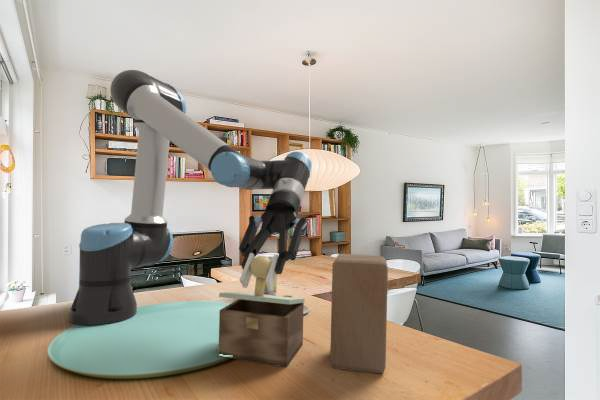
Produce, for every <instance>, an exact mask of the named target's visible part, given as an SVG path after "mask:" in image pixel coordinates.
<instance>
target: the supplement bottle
mask: <svg viewBox="0 0 600 400" xmlns="http://www.w3.org/2000/svg"><path fill="white" fill-rule="evenodd" d="M274 255H275V254H261V255H259V256H266V257H268V258H270V259H271V261H272V260H273V257H274ZM277 277H278V276H277ZM277 277H276V280H275V283H274V286H273V290H268V287H267V285H266V283H265V286H264V295H274V296H277V286H278V285H277V284H278V283H277V282H278V281H277V279H278V278H277ZM255 278H256V277H255ZM256 279H258V278H256ZM256 279H255V280H256ZM265 281H266V278H265Z"/></svg>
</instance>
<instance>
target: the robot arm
mask: <svg viewBox="0 0 600 400" xmlns="http://www.w3.org/2000/svg"><path fill="white" fill-rule="evenodd" d="M110 84H111V85H110V90H109V91H110V96H111V99H112V102H113V103H114V104H115V106H116V107H118V108H119V109H120V110H121V111H123V112H124V113H125V114H127V115H128V116H129V117H131V118H133V126H134V127H135V128H136V130H137V131H138V134H137V135H138V136H137V147H136V157H135V168H134V169H135V170H134V178H133V189H132V201H131V210H130V211H131V212H130V214H129V215H128V216H126V217H125V218H124V221H123V222H110V223H102V224H100V223H99V224H95V225H91V226H88V227H86V228H84V229H83V230H82V231H81V234H80V242H79V245H78V247H79V271H78V273H79V275H78V279H79V280H78V289H77V292H76V294H75V297H74V300H73V302H72V305H71V308H70V310H69V321H70V322H71V323H73V324H77V325H84V326H85V325H89V326H90V325H91V326H93V325H95V326H96V325H103V324H104V325H105V324H111V323H117V322H121V321H124V320H127V319H129V318H132V317H134V316H135V315H136V314H137V312H138V310H137V309H138V305H137V304H138V303H137V300H136V297H135V295H134V291H133V288H132V285H131V270H134V269H138V268H143V267H145V266H146V267H149V266H155V264H158V263H160V262H162V261H165V259H167V257H169V256H170V254H171V252H172V250H173V247H174V237H173V234H172V233H171V230H170V229H169V228H168V220H167V219H166V217H164V215H163V213H164V204H165V194H166V193H165V192H166V182H167V175H168V174H167V173H168V165H169V164H168V162H169V154H170V153H169V152H170V151H169V149H170V143H173V144H174V145H175V146H176V147H177V148H178V149H180V150H182V151H183V152H184V153H185V154H187V155H188V156H189V157H191V158H192V159H193V160H195V161H196V162H197V163H198V164H200V165H201V166H203V167H204V168H205V169H207V170H208V171H209V172H210V173H211V176H212V177H213V180H215V182H217V183H218V184H220V185H222V186H225V187H226V188H227V187H228V188H239V189H240V190H250V191H253V190H272V191H271V194H270V197H269V199H268V201H267V203H266V206H265V210H264V211H263V213H261V215H260V216H257V217H255V216H254V215H250V216H249V217H248V225H247V227H246V229H245V232H244V235H243V237H242V240H241V242H240V244H239V246H238V247H239V248H238V250H239V252H240V254H241V256H242V257H243V261H242V263H241V269H242V273H241V275H240V277H239V282H240V283H241V286H242V287H243V288H245V289H247V288H248V286H249V283H250V280H251V278H252V276H253V274H252V273H251V269H250V266H251V263H252V261H253V260H254V259H255V258H256V257H257V255H258V253H259V252H260V250H261V249H262V248H263V247H264V244H265V243H266V242H267V240H268V239H269V238H270V237H271V236H272V235H273V234H276V233H277V234H278V251H277V253H278V254H273V255H274V257H273V260H272V263H271V266H270V269H269V272H268V275H267V278H266V281H265V283H266V285H267V287H268V290H273V286H274V283H275V280H276V277H278V275H282V273H283V270H284V268H285V265H286V262H287V261H295V260H296V258H297V255H298V252H299V247H300V245H301V241H302V238H303V235H304V233H305V231H306V230H307V228H308V224H307V221H306V220H307V219H306V218H305V217H301V218H298V214H299V211H300V208H301V205H302V202H303V198H304V195H305V190H306V187H307V185H308V182H309V179H310V178H311V171H312V167H313V166H312V161H311V158H310V157H309V156H308V155H307V154H306V153H304V152H301V151H292V152H290V153H288V154H287V155H286V156H285V157H284V159H281V160H279V159H277V160H259V159H255V158H252V157H249V156H246V155H243V154H242V153H241V152H239V151H238V150H236V149H234V147H232V146H230V145H229V144H228V143H226V142H225V141H223V140H222V139H221V138H220V137H218V136H217V135H215V134H214V133H212V132H211V131H210V130H209V129H207V128H206V127H204V126H203V125H201V124H200V123H199V122H197V121H196V120H194V119H193V118H191V117H190V116H189V115H187V114H186V112H187V105H186V101H185V97H184V95H182V93H181V92H180V91H179V90H178V89H177V88H175V87H174V86H172V85H170V84H169V83H166V82H164V81H162V80H160V79H158V78H155V77H153V76H151V75H149V74H147V73H146V72H144V71H141V70H136V69H127V70H122V71H121V72H119V73H118V74H117V75H116V76H115V77H114V78H113V79H112V81H111V83H110ZM261 224H262V225H261ZM260 225H261V227H260ZM292 227H294V230H293V233H292V236H291V240H290V243H289V245H288V237H289V236H288V233H289V232H288V231H289V230H290V229H291V228H292ZM259 228H260V229H259ZM258 229H259V231H258Z"/></svg>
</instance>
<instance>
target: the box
mask: <svg viewBox="0 0 600 400" xmlns="http://www.w3.org/2000/svg"><path fill="white" fill-rule="evenodd" d="M304 306H305V302H304V303H297V304H280V303H271V302H262V301H252V300H243V299H235V301H233V302H231V303H230V304H228V305H225V306H224V307H223V308H221V309H219V313H218V314H219V320H218V321H219V323H218V354H223V355H233V360H239V361H247V362H252V363H259V364H264V365H271V366H277V367H283V368H284V367H285V368H287V367H288V366H289V364H290V363H291V362H292V361H293V359H294V358H295V356H296V354H297V353H298V352H299V351H300V349H301V348H302V347H303V346H304V345H303V342H304V341H303V340H304V339H303V338H304V337H303V336H304V315H303V309H304Z"/></svg>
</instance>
